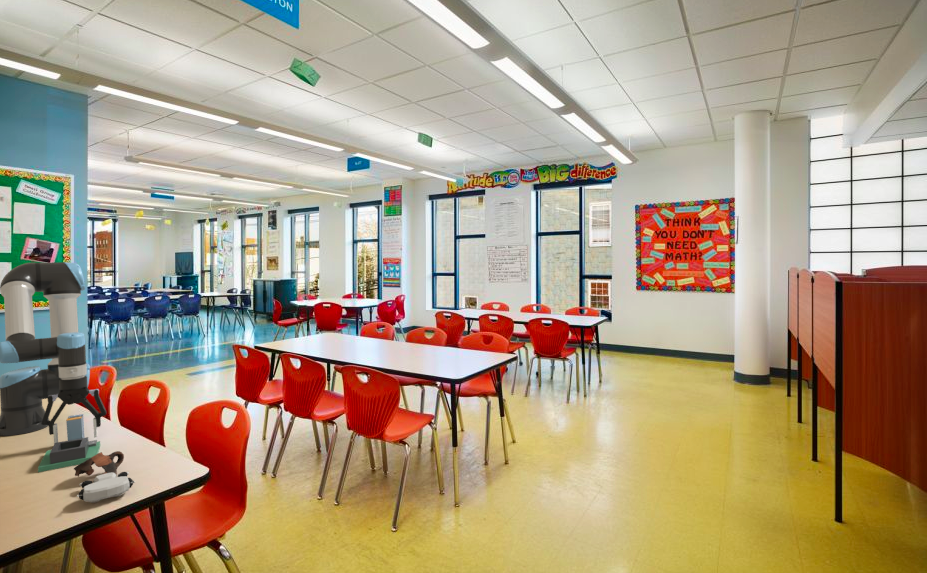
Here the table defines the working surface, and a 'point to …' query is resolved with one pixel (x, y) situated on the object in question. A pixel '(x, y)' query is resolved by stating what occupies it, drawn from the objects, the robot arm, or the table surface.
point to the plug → (75, 427)
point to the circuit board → (69, 453)
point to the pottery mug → (100, 463)
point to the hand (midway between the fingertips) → (76, 439)
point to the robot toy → (105, 487)
